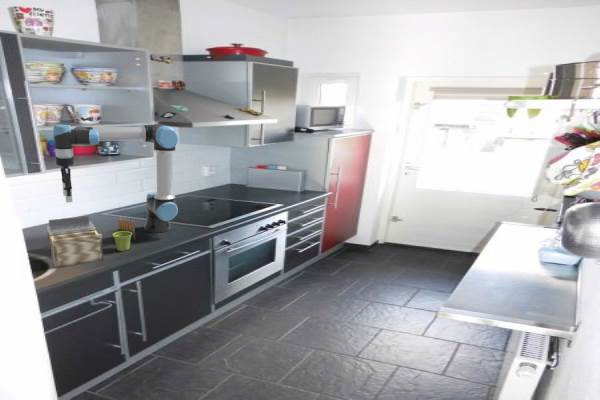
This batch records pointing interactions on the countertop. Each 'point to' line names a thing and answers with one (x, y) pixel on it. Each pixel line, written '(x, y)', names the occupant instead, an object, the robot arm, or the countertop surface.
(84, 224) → the lid
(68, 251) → the housing
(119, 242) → the plant pot
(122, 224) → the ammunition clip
